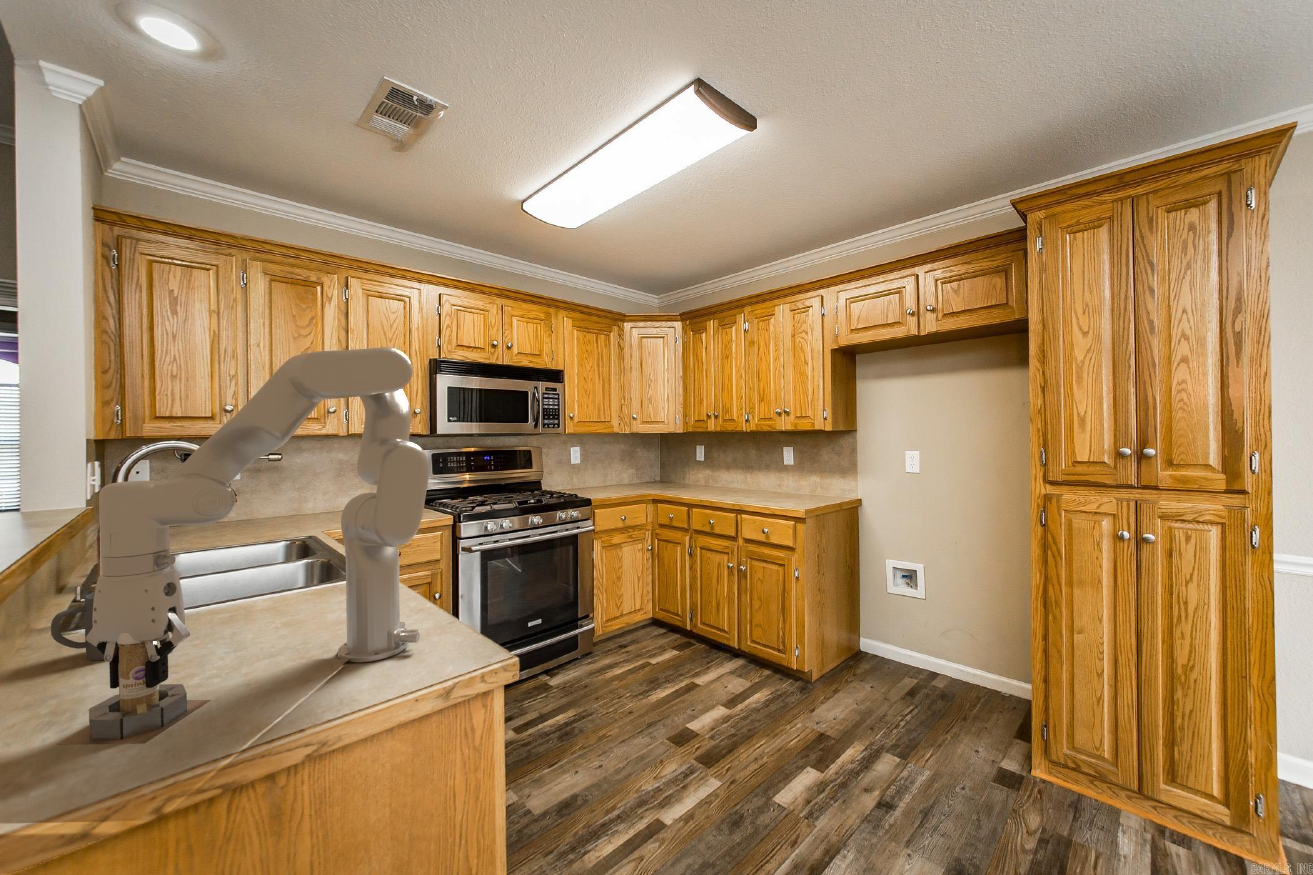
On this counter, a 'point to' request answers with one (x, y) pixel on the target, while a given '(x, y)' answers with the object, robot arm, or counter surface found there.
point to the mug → (90, 648)
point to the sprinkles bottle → (134, 675)
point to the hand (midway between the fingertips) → (139, 682)
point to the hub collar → (136, 715)
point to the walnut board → (84, 736)
